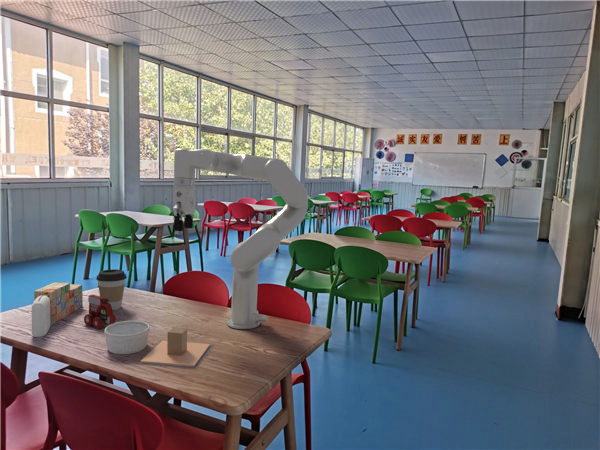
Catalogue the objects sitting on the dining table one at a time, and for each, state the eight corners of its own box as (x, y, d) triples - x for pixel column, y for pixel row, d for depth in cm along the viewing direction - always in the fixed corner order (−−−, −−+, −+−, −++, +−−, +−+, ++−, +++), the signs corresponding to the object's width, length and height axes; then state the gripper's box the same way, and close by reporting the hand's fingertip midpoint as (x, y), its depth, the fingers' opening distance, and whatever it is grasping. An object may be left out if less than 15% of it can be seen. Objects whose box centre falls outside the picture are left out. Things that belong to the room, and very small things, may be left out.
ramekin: (121, 361, 126) (121, 338, 125) (95, 350, 133) (95, 328, 132) (158, 347, 137) (158, 326, 137) (131, 337, 144) (132, 317, 143)
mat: (213, 346, 140) (213, 345, 140) (196, 370, 122) (196, 369, 122) (160, 341, 142) (160, 340, 141) (135, 365, 124) (135, 364, 124)
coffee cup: (120, 302, 182) (120, 267, 180) (131, 309, 173) (131, 272, 172) (92, 306, 174) (92, 270, 172) (101, 314, 166) (101, 276, 164)
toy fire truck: (102, 331, 148) (102, 302, 147) (80, 323, 154) (80, 295, 153) (119, 326, 154) (120, 298, 153) (98, 318, 160) (98, 291, 159)
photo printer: (37, 327, 149) (36, 293, 147) (51, 326, 150) (51, 292, 149) (30, 338, 139) (29, 301, 138) (45, 337, 141) (44, 300, 139)
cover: (209, 345, 139) (210, 323, 138) (194, 367, 123) (194, 342, 123) (162, 342, 140) (162, 319, 140) (140, 362, 125) (140, 337, 124)
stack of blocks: (67, 306, 174) (67, 276, 172) (82, 307, 174) (82, 277, 172) (34, 324, 152) (33, 290, 151) (51, 324, 152) (51, 291, 151)
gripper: (185, 183, 147) (184, 232, 149) (202, 183, 164) (201, 227, 166) (164, 182, 148) (163, 231, 150) (183, 182, 165) (182, 226, 167)
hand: (183, 229), depth 158 cm, fingers open, 9 cm apart
